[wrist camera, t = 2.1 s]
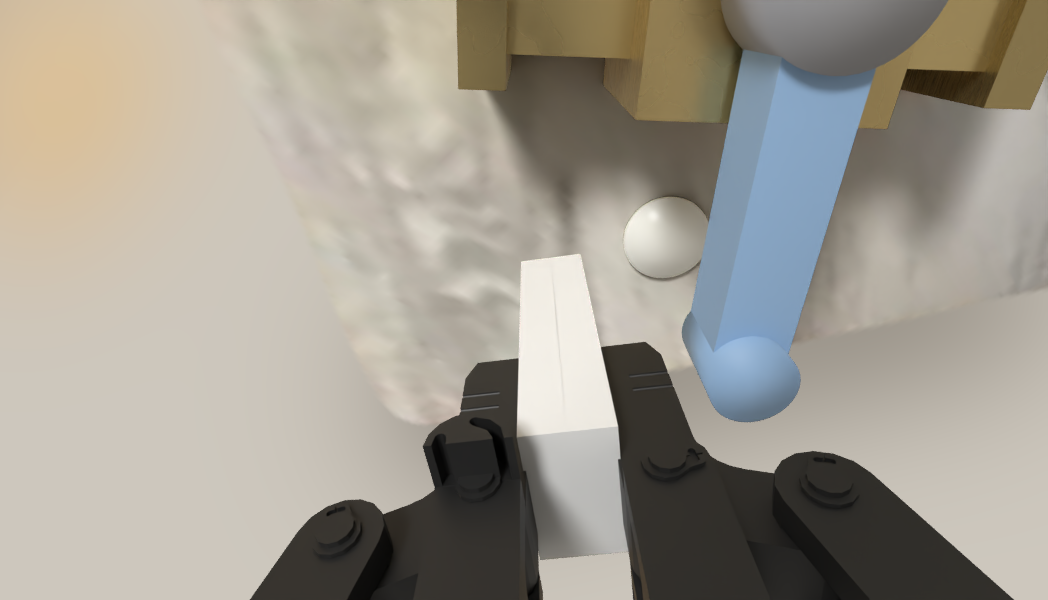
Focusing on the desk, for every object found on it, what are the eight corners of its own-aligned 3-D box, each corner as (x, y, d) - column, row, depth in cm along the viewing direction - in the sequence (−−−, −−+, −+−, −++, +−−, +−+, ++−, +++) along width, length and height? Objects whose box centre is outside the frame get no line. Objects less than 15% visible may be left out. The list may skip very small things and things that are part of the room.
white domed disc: (628, 194, 28) (629, 196, 27) (716, 198, 28) (718, 199, 27) (618, 274, 30) (619, 276, 29) (700, 277, 30) (701, 279, 30)
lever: (738, -124, 14) (799, -162, 11) (908, -117, 14) (1017, -153, 11) (655, 358, 21) (677, 420, 18) (769, 361, 21) (811, 424, 18)
